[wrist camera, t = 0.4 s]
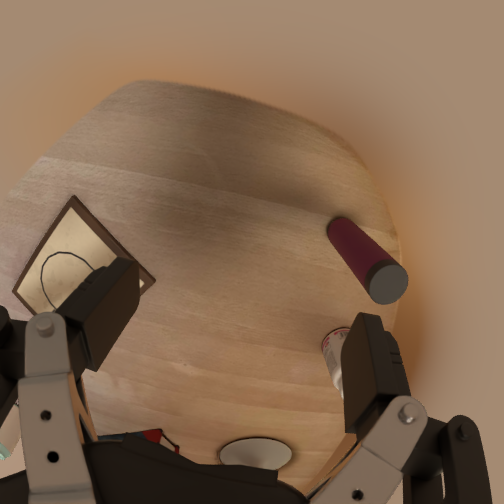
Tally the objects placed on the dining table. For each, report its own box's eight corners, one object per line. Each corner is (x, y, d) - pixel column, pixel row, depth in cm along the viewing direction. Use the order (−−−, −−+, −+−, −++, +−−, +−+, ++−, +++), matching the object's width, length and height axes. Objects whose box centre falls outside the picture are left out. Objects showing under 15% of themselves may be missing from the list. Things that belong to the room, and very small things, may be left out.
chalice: (310, 438, 43) (324, 516, 29) (279, 475, 48) (285, 541, 34) (225, 427, 42) (221, 512, 28) (207, 466, 46) (201, 535, 32)
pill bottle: (335, 363, 37) (351, 411, 30) (313, 344, 36) (328, 393, 28) (365, 341, 36) (388, 387, 28) (345, 320, 35) (367, 366, 27)
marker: (319, 228, 31) (361, 284, 19) (342, 209, 30) (396, 255, 19) (336, 249, 32) (382, 312, 20) (358, 231, 31) (414, 285, 20)
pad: (13, 289, 33) (11, 291, 32) (74, 194, 29) (71, 196, 28) (79, 355, 37) (77, 358, 36) (156, 280, 33) (154, 282, 32)
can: (-3, 396, 42) (-28, 434, 31) (16, 400, 42) (-9, 442, 30) (15, 420, 44) (-6, 458, 33) (35, 424, 44) (13, 465, 33)
